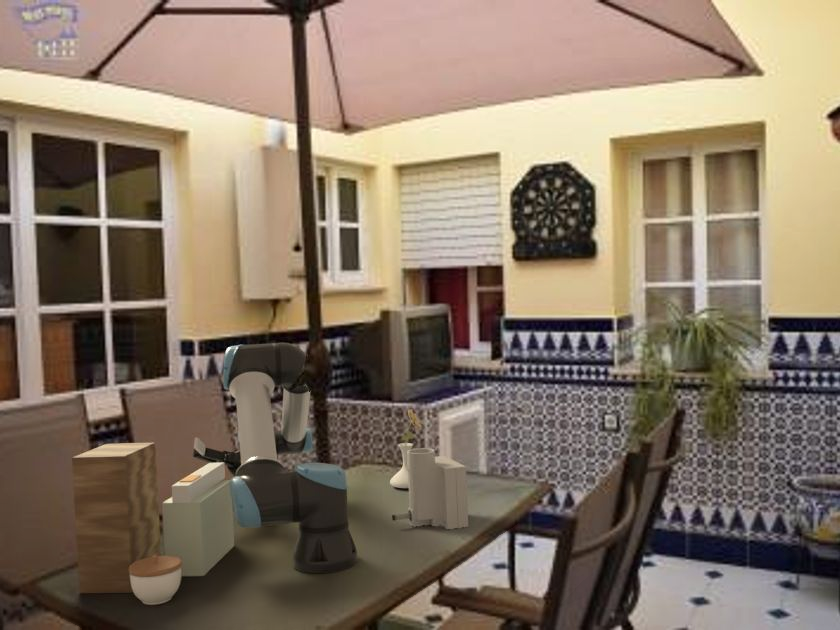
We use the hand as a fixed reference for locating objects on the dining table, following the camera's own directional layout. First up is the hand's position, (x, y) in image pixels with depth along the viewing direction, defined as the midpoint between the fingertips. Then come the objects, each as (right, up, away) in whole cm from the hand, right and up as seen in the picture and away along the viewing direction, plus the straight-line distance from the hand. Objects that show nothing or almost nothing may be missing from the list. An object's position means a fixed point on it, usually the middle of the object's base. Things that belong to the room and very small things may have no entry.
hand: (220, 441), depth 215 cm
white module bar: (-1, -9, -16) cm, 19 cm away
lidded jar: (-3, -27, -42) cm, 50 cm away
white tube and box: (+54, -23, +6) cm, 59 cm away
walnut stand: (-16, -27, -28) cm, 42 cm away
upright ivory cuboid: (0, -26, -17) cm, 31 cm away
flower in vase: (+49, -22, +50) cm, 74 cm away
